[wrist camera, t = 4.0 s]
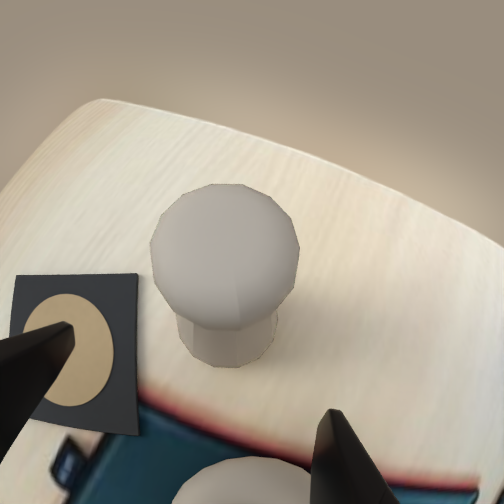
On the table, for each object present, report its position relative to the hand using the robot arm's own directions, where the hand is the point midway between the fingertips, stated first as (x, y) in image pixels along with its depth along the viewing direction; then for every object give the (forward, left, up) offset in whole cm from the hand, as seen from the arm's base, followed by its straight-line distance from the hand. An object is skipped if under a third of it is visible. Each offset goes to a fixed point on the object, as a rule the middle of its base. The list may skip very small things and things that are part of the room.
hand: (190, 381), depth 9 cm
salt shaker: (+3, -3, -10) cm, 11 cm away
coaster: (+6, +8, -10) cm, 15 cm away
